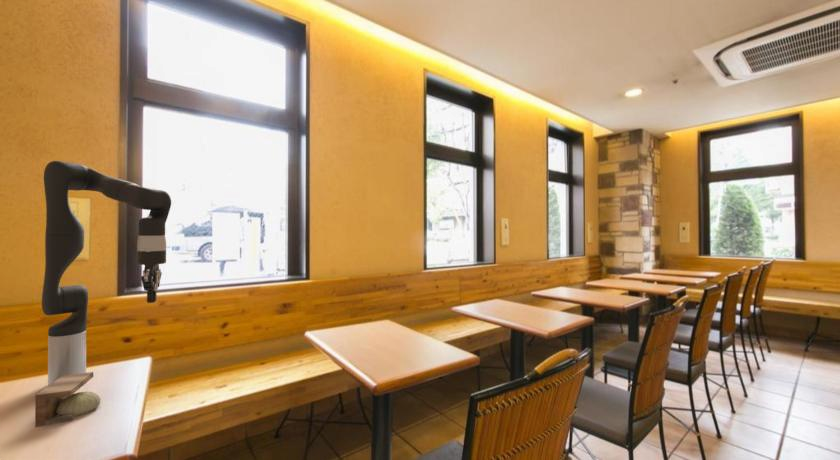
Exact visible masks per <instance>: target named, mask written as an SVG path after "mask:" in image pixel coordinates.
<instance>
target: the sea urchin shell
mask: <svg viewBox="0 0 840 460" xmlns="http://www.w3.org/2000/svg"><path fill="white" fill-rule="evenodd" d="M100 403H101V397H100V395H98V394H97V393H96V392H93V391H81V392H75V393H74V394H72V395H71V396H68V397H67V398H65V399H64V400H63V401H61V403H60V404H59V405H58V407H57V409H56V413H57V414H58V415H57V416H58V417H59V416H65V415H72V417H77V416H80V415H83V414H84V415H85V414H87V413H88V412H92V411H93V410H95V409H96V408H98V407H99V406H100Z"/></svg>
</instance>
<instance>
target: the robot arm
mask: <svg viewBox="0 0 840 460" xmlns="http://www.w3.org/2000/svg"><path fill="white" fill-rule="evenodd" d="M43 187H44V195H45V208H46V211H45V212H46V215H45V217H46V219H45V223H46V224H45V235H44V236H45V237H44V238H45V241H44V247H45V249H44V250H45V251H44V253H45V260H44V262H45V263H44V264H45V265H44V277H43V278H44V279H43V286H42V293H41V309H42V310H41V311H42V312H43V314H44V315H46V316H56V315H57V316H58V315H64V314H70V315H69V316H68V317H67V318H65V319H63V320H61V321H60V322H59V321H58V322H57V323H55V324H52V325H51V326H49V327H48V331H47V333H48V334H47V335H48V336H47V337H48V338H47V346H48V347H47V349H48V351H47V387H48V386H49V385H50V384H52V383H53V382H55V381H56V380H57V379H59V378H60V377H62V376H65V375H73V374H81V373H87V325H88V324H87V323H88V306H89V291H88V289H87V287H86V286H85V285H83V284H76V285H65V286H60V282H61V279H62V277H63V275H64V274H65V272H66V270H67V269H68V268H69V267H70V266H71V264H72V263H73V262H75V260H76V259H77V258H78V257H79V256H80V254H81V253H82V252H83V250H84V247H85V246H84V245H85V228H84V226H83V224H82V223H81V221H80V220H79V218H78V216H77V215H76V214H75V212H74V211H73V209H72V208H71V205H70V202H69V200H70V199H69V191H88V192H89V191H90V192H96V193H97V192H98V193H100V194H102V195H103V196H105V197H107V198H109V199H111V200H114V201H117V202H120V203H125V204H127V205H130V206H131V207H134V208H135V209H140V210H147V211H149V214H148V216H146V217H142V218H140V219H139V220H138V224H137V225H138V226H137V227H138V233H137V234H138V237H137V248H136V249H137V252H136V260H137V261H136V264H137V265H140V266H143V265H144V269H143V270H142V275H141V277H140V280H141V282H142V283H141V285H142V286H143V290H144V291H145V292H146V303H148V304H150V303H151V304H152V303H153V304H155V302H156V301H157V295H158V294H157V293H158V292H157V291H158V290H159V287H160V284H161V277H162V274H163V272H162V270H161V268H160V265H163V264H166V262H167V239H166V222H167V220H168V216H169V214H170V211H171V207H172V199H171V195H170V194H169V193H168V192H167V191H166V190H164V189H158V188H149V187H144V186H141V185H139V184H137V183H134V182H132V181H127V180H123V179H120V178H116V177H112V176H109V175H106V174H105V173H104V174H103V173H101V172H99V171H97V170H95V169H93V168H91V167H88V166H86V165H84V164H81V163H75V162H68V161H67V162H66V161H60V160H53V161H50V162H48V163H47V164H46V165H45V168H44V171H43Z"/></svg>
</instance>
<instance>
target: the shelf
mask: <svg viewBox="0 0 840 460" xmlns="http://www.w3.org/2000/svg"><path fill="white" fill-rule="evenodd" d="M93 378H94V371H92V372H91V371H90V372H86V373H81V374H73V375H65V376H62V377H60V378H59V379H57V380H56V381H55V382H53V383H52V384H50V385H49V386H48V385H47V386H46V387H45V388H43V389H42V390H40V392H38V393H37V394H35V407H34V409H35V410H34V411H35V414H34V416H35V421H34V422H35V423H34V425H35V426H34V427H35V428H37V427H38V428H39V427H46V426H51V425H56V424H62V423H68V422H69V423H70V422H72V421H73V416H72V415H65V416H59V415H58V414H57V413H56V409H57V407H58V405H59V404H60V403H61V401H63V400H64V399H65V398H67V397H68V396H71V395H72V394H75V393H77V392H78V391H79V390H80V389H81V388H82V387H83V386H84V385H85V384H87V383H88V382H89V381H90V380H92V379H93Z"/></svg>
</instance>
